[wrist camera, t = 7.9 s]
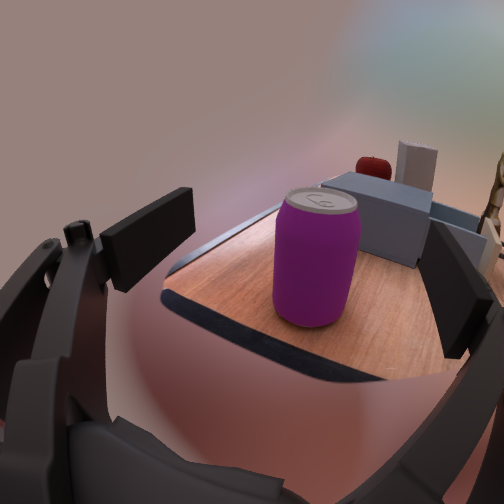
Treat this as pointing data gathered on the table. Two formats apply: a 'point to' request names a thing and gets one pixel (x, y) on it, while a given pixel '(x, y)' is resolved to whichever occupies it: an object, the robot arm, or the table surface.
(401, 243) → the cabinet
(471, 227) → the drawer
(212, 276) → the table surface
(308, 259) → the beverage can
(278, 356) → the table surface
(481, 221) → the figurine
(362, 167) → the apple
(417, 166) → the cosmetic box
